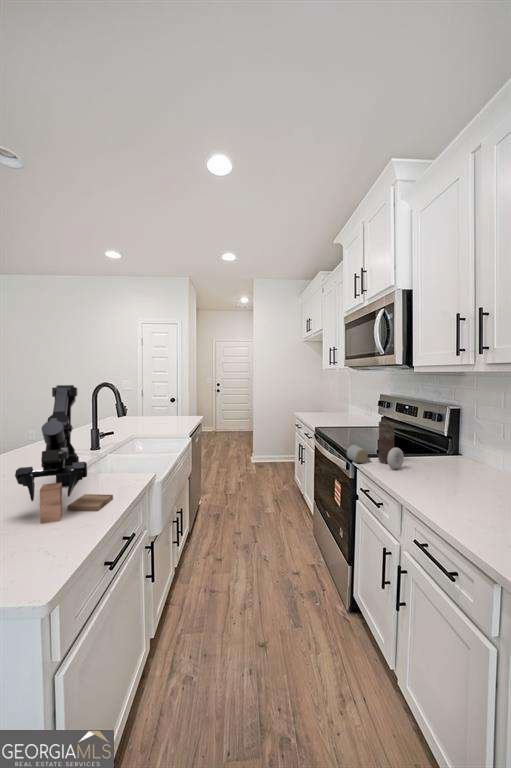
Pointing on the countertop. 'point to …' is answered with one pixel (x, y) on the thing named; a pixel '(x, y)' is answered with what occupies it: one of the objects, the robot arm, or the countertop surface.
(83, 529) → the countertop surface
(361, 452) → the grey cylinder
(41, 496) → the pillar
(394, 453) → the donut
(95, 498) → the base board
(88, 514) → the countertop surface
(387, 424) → the candle
